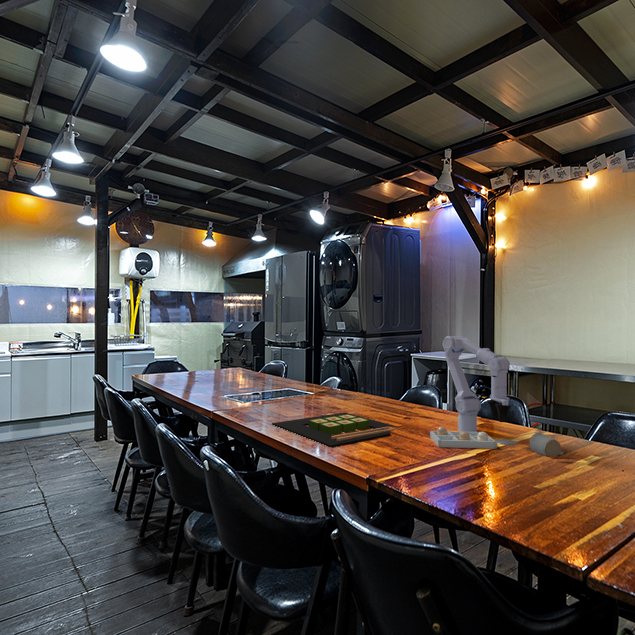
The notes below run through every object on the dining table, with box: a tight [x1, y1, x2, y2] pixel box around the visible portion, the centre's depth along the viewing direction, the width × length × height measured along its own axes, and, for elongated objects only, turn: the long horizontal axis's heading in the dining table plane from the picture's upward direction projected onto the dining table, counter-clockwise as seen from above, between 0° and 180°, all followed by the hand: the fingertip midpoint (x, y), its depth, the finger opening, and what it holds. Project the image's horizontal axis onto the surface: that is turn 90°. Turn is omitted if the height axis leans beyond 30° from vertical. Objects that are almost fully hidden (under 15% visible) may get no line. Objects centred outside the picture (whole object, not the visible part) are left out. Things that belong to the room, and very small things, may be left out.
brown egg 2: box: [459, 431, 470, 440], centre depth 166 cm, size 4×4×5 cm
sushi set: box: [271, 412, 399, 448], centre depth 195 cm, size 45×45×4 cm
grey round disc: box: [494, 438, 519, 446], centre depth 170 cm, size 9×9×1 cm
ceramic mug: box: [529, 432, 564, 458], centre depth 157 cm, size 11×8×8 cm
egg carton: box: [429, 430, 498, 450], centre depth 169 cm, size 15×22×4 cm
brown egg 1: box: [436, 426, 448, 435], centre depth 173 cm, size 4×4×5 cm
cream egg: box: [477, 431, 489, 441], centre depth 166 cm, size 4×4×5 cm
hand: (498, 419), depth 173 cm, fingers open, 7 cm apart
